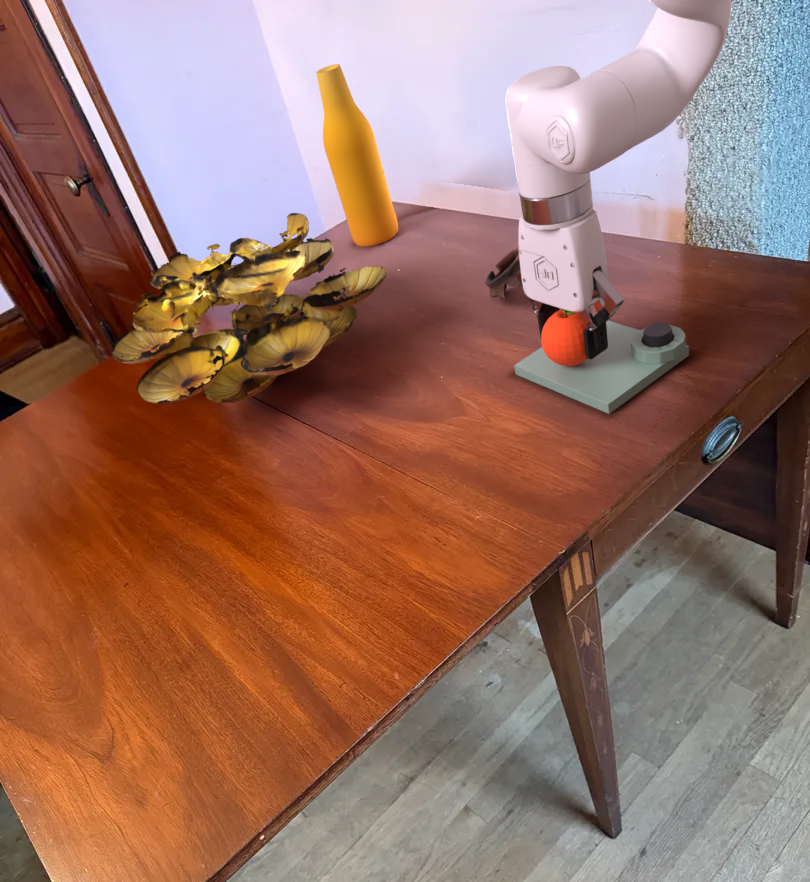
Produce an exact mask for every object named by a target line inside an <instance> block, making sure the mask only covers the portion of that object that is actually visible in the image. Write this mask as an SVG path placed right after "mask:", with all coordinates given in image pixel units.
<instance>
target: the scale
mask: <svg viewBox="0 0 810 882" xmlns="http://www.w3.org/2000/svg"><path fill="white" fill-rule="evenodd" d="M594 316H595V315H593V317H594ZM669 325H670V326H671V327H672V341H671V343H669V344H668V345H665V346H662V347H648V346H646V345H645V344H644V332H643V331H644V329H645V328H642V329H637V328H633V327H631V326H627V325H625V324H621V323H617V322H615V321H612V320H608V321H606V327H607V338H608V348H607V349H606V350H605V351H603V352H602V353H600V354H599V355H597V356H596V357H594V358H593V359H587V360H585V361H584V362H582V363H580V364H578V365H575V366H563V365H559V364H556V363H555V362H553V361H552V360H550V359H549V358H548V357H547V355H546V354H545V352H544V350H543V347H542V346H540V347H539V348H538V349H537V350H535V351H533V352H532V353H530V354H529V355H527V356H526V357H525V358H523V359H522V360H520V361H518V362H517V363H515V364H514V366H513V368H514V372H515V373H514V374H515V375H516V376H518V377H521V378H523V379H525V380H527V381H530V382H532V383H535V384H537V385H539V386H542V387H544V388H547V389H549V390H551V391H554V392H555V393H559V394H561V395H563V396H565V397H567V398H570V399H572V400H575V401H578V402H580V403H582V404H584V405H586V406H589V407H591V408H594V409H596V410H599V411H601V412H603V413H606V414H608V415H610V414H611V413H613V412H614V411H616V410H617V409H618V408H619V407H621V406H622V405H624V404H625V403H627V402H628V401H629V400H631V398H633V397H634V396H636V395H637V394H639V393H640V392H641V391H642V390H645V388H647V387H648V386H649V385H651V384H652V383H653V382H655V381H657V380H658V379H659V378H660V377H662V376H663V375H664V374H666V373H667V372H668V371H670V370H671V369H672V368H674V367H676V366H677V365H678V364H679V363H681V362H682V361H683V360H685V359H686V358H687V357H689V356H690V345H689V344H687V342H686V341H687V340H686V339H687V338H686V333H685V332H684V331H683V330H682V329H681V327H678V326H674V325H671V324H669Z"/></svg>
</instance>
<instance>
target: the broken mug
mask: <svg viewBox="0 0 810 882" xmlns="http://www.w3.org/2000/svg"><path fill="white" fill-rule="evenodd" d="M495 268H496V270H498V271H497V272H496V273H495V272H494V271H493V270H491V271H490V272H488V275H486V278H485V281H484V284H485V285H486V286H487V287H488V288H489V296H490V298H492V299H493V298H498V297H500V298H502V299H507V296H506V291H507V287H508V286H509V287H518V288H520V287H523V286H522V285H521V283H520V282H519V280H518V279H517V274H518V273H519V272H520V271H521V269H520V259H519V246H518V247H516V248H514V249H512V250H511V251H509V252H508V253H507V254H506V255H505V256H504V257H502V258H501V259H500V260H499V261H498V262H497V264H495Z"/></svg>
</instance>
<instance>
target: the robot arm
mask: <svg viewBox="0 0 810 882" xmlns="http://www.w3.org/2000/svg"><path fill="white" fill-rule="evenodd" d="M647 1H648V2H649V3H651V4H652V5H654V7H656V10H655V12H654V15H653V16H652V18H651V20H650V21H649V24H648V26H647V28H646V30H645V32H644V34H643V36H641V38H640V40H639V42H638V44H637V45H636V47H635V48H634V49H633V51H631V52H630V53H627V54H626V55H624V56H622V57H620V58H618V59H616V60H614V61H612V62H610V63H608V64H607V65H604V66H603V67H601V68H599V69H597V70H595V71H593V72H591V73H590V74H589V75H586V76H584V77H582V78H581V77H580V74H579V73H578V72H577V70H576V69H575V68H573V67H571V66H566V65H554V66H547V67H543V68H539V69H536V70H533V71H530V72H528V73H525V74H523V75H521V76H520V77H518V78H516V79H515V80H514V81H512V82H511V84H510V85H509V86H508V88H507V90H506V94H505V110H506V116H507V122H508V129H509V136H510V142H511V148H512V149H511V150H512V156H513V162H514V168H515V175H516V182H517V187H518V196H519V200H520V207H521V214H520V215H519V218H518V235H517V239H518V240H517V241H518V247H519V259H520V269H521V271H520V272H519V273H518V274H517V279H518V280H519V282H520V283H521V285H522V286H521V287H522V288H523V292H524V294H525V295H526V297H527V298H528V299H529V301H530V302H531V303H532V304H531V308H532V311H533V312H534V313H535V314H536V317H537V324H538V329H539V330H538V331H539V337H540V338H541V333H542V330H543V327H544V325H545V323H546V321H547V320H548V319H549V317H550V316H552V315H553V314H554V313H556V312H557V311H559V310H561V309H564V310H567V311H571V312H576V313H579V312H580V314H581V316H582V318H583V320H584V322H585V324H586V326H587V328H585V329H584V330H583V335H584V344H585V353H586V357H587V358H588V359H593V358H594V357H596V356H597V355H599V354H600V353H602V352H603V351H605V350H606V349H607V348H608V338H607V327H606V321H610V319H611V318H612V317H613V316H614V315H615V314H616V312H617V311H618V310H619V309H620V307H621V306H622V305H623V304H624V301H625V300H624V297H623V296H622V295H621V293H619V291H618V290H617V289H616V287H615V286H614V285H613V284H612V282H610V280H609V268H608V261H607V253H606V246H605V242H604V237H603V232H602V229H601V225H600V221H599V216H598V214H597V211H596V210H595V209H594V203H593V192H592V191H593V190H592V179H591V172H594V171H596V170H598V169H600V168H601V167H603V166H605V165H607V164H609V163H610V162H612V161H614V160H616V159H617V158H619V157H621V156H623V155H624V154H625V153H627V152H628V151H630V150H632V149H634V148H635V147H637V146H639V145H641V144H642V143H644V142H646V141H647V140H649V139H652V138H653V137H655V136H656V135H658V134H660V133H661V132H664V131H665V130H666V129H667V128H668V127H669V126H670V125H672V123H674V122H675V120H677V118H678V117H679V116H680V115H681V114H682V112H683V111H684V110H685V109H686V107H687V106H688V105H689V103H690V102H691V100H693V97H694V96H695V94H696V93H697V92H698V90H699V89H700V87H701V85H702V83H704V81H705V79H706V77H707V76H708V74H709V73H710V71H711V70H712V68H713V66H714V65H715V63H716V61H717V59H718V58H719V56H720V53H721V52H722V49H723V47H724V44H725V41H726V37H727V33H728V28H729V24H730V18H731V12H732V0H647ZM592 306H593V307H594V309H595V310H596V314H595V315H593V313H592V312H591V311H592V309H591V310H590V308H591V307H592ZM589 307H590V308H589ZM593 316H594V317H593Z"/></svg>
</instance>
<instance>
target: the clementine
mask: <svg viewBox="0 0 810 882" xmlns="http://www.w3.org/2000/svg"><path fill="white" fill-rule="evenodd" d="M589 308H590V310H591V313H592V309H591V306H590V307H589ZM585 328H587V326H586V324H585V322H584V320H583V318H582V316H581V314H580V312H579V313H576V312H571V311H567V310H564V309H561V308H560V310H559V311H557V312H556V313H554V314H553V315H552V316H550V317H549V319H548V320H547V321H546V323H545V325H544V327H543V330H542V333H541V337H540V345H541V347H543V350H544V352H545V354H546V355H547V357H548V358H549V359H550V360H552V361H553V362H555V363H556V364H559V365H563V366H575V365H578V364H580V363H582V362H584V361H585V360H587V359H588V358H587V357H586V353H585V344H584V335H583V330H584V329H585Z"/></svg>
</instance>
